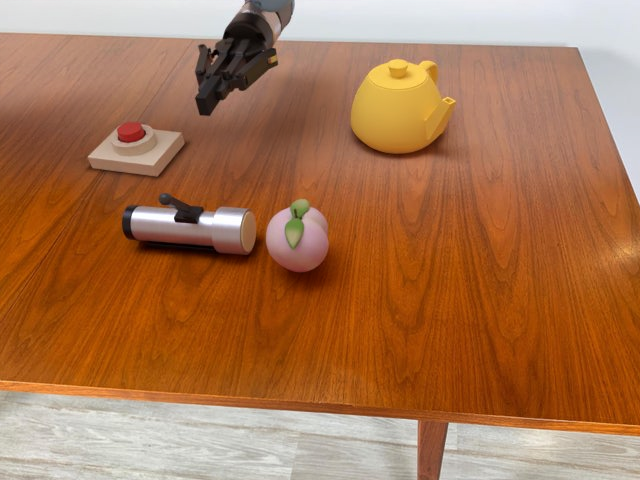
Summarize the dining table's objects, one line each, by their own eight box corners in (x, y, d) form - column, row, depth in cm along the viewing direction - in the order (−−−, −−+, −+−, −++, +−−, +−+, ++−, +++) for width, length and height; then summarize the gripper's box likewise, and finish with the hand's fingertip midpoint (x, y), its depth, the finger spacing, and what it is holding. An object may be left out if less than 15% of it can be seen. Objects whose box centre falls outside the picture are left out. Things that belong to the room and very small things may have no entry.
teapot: (332, 133, 103) (325, 64, 94) (404, 94, 112) (404, 27, 103) (416, 179, 93) (418, 107, 84) (487, 132, 103) (496, 62, 93)
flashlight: (129, 254, 82) (113, 219, 78) (148, 225, 87) (133, 190, 82) (247, 264, 81) (237, 229, 76) (260, 234, 85) (252, 199, 80)
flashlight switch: (180, 214, 79) (155, 203, 72) (181, 202, 79) (157, 190, 72) (191, 215, 79) (167, 204, 72) (192, 203, 79) (169, 191, 72)
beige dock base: (92, 168, 97) (82, 147, 94) (123, 136, 104) (115, 116, 101) (157, 176, 95) (149, 156, 92) (184, 143, 102) (178, 123, 99)
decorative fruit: (273, 245, 83) (261, 189, 76) (330, 240, 84) (323, 184, 76) (271, 293, 77) (257, 236, 69) (333, 287, 77) (326, 231, 70)
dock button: (115, 142, 96) (111, 133, 95) (128, 129, 99) (124, 120, 97) (137, 145, 95) (134, 135, 94) (149, 132, 98) (146, 123, 97)
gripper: (293, 58, 99) (252, 133, 83) (219, 55, 100) (165, 128, 84) (287, 13, 93) (242, 84, 77) (209, 9, 95) (149, 78, 78)
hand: (202, 106), depth 81 cm, fingers closed
